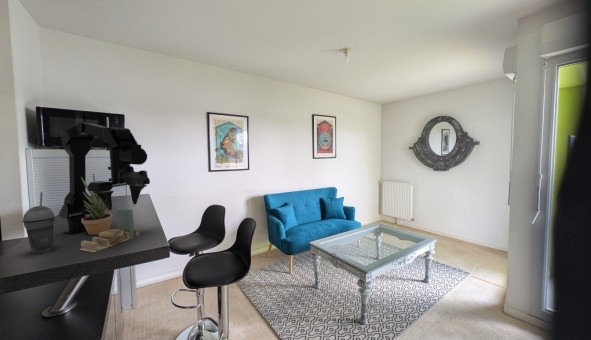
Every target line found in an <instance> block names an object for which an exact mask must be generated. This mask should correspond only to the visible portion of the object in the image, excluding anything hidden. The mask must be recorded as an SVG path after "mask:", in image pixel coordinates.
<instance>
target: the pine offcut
mask: <svg viewBox="0 0 591 340" xmlns="http://www.w3.org/2000/svg"><path fill="white" fill-rule="evenodd" d="M122 235H124V234H123V230H118V228H117V229H116V228H113V229H112V228H109V230H106V231H103V232H101V233H99V234H98V237H99V238H106V239H114V238H117V237H119V236H122Z"/></svg>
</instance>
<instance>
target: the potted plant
mask: <svg viewBox="0 0 591 340" xmlns="http://www.w3.org/2000/svg"><path fill="white" fill-rule="evenodd" d="M92 178H93V179H92V180H93V181H92V182H96V178H95V174H94V172H92ZM81 179H82V181H83V183H84V185H85V187H86V191H87V193H88V194H89V196H91V198H90V197H88V196H87V195H86V194H85V193H84V192H83V193H84V195H85V196H86V198H87V199H88V200H89V201H90V202H91V203H92V205H91V204H88V203H87V202H85V201H84V203H85V204H86V205H87V206H86V205H85V204H84V205H85V206H86V207H87V208H88V209H89V210H91V211H89V210H88V209H86V210H87V211H88V212H89V213H91V214H88V216H87V215H86V217H85V218H82V219H81V221H82V224H84V226H85V228H86V230H85V231H87V234H88V235H90V236H92V235H93V236H95V235H99V233H101V232H103V231H106V230H109V229H111V222H112V220H113V219H114V218H113V213H109V212H108V211H107V210H108V209H107V207H106V206H105V204H104V203H103V201H102V200H101V198H100V197H99V196H98V195H97V194H96V193H93V191H88V185H89V184H87V182H85V181H84V180H83V178H82V177H81ZM106 211H107V212H106Z"/></svg>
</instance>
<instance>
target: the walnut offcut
mask: <svg viewBox="0 0 591 340" xmlns="http://www.w3.org/2000/svg"><path fill="white" fill-rule="evenodd" d="M124 240H125V235H122V236H119V237H117V238H114V239H109V241H110V245H112V246H114V245H113V244H115V245H117V244H119V243H118V242H120V243H122V242H121V241H123V242H125V241H126V240H125V241H124ZM116 243H117V244H116Z"/></svg>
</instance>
